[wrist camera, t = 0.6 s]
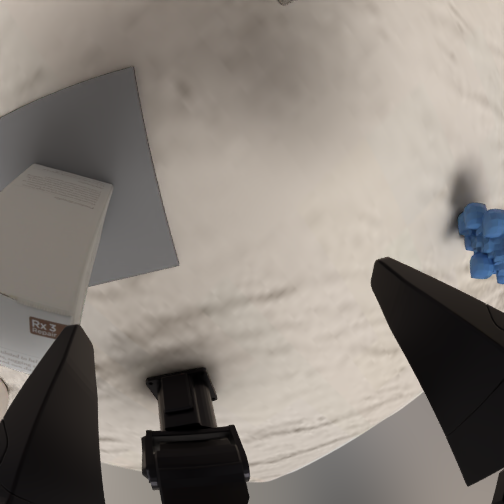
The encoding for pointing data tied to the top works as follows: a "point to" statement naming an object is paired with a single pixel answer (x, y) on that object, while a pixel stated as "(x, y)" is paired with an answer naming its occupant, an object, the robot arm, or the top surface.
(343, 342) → the top surface
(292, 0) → the coffee box
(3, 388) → the alcohol
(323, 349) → the top surface
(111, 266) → the rubber mat
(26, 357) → the skincare box
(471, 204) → the grapes
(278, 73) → the top surface
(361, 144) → the top surface
